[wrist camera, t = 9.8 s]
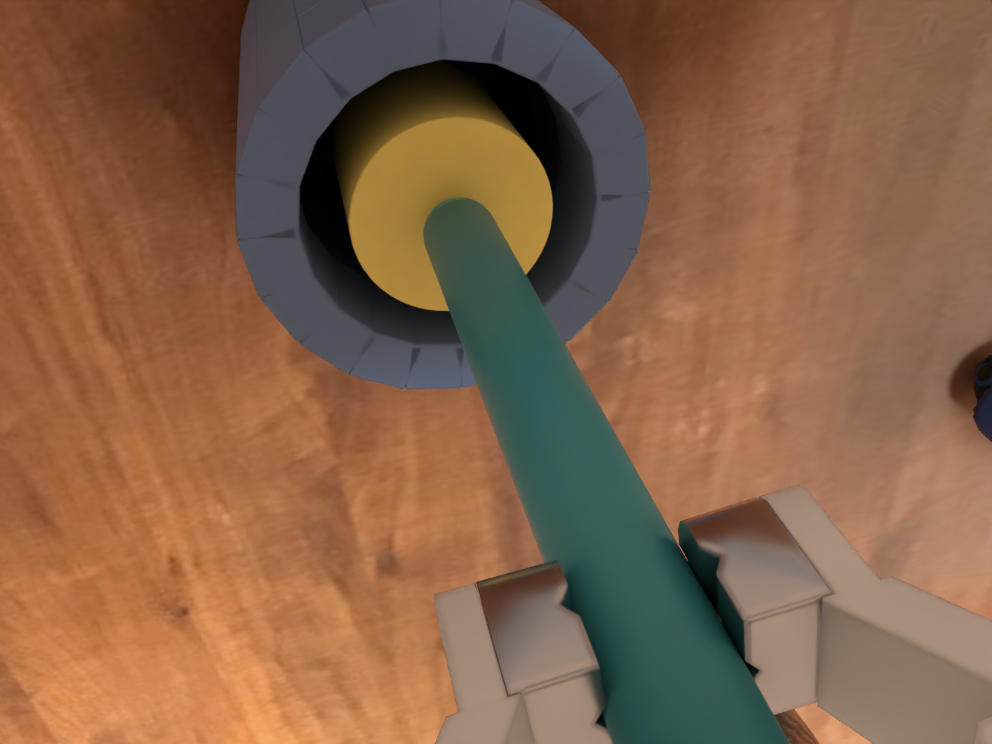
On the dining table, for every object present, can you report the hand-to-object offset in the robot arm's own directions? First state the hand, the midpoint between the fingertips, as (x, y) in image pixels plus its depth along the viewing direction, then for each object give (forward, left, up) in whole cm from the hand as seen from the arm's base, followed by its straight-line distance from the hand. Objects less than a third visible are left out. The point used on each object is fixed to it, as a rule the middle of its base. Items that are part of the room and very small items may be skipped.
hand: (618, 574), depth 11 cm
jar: (0, 0, -25) cm, 25 cm away
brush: (0, 0, -16) cm, 16 cm away
